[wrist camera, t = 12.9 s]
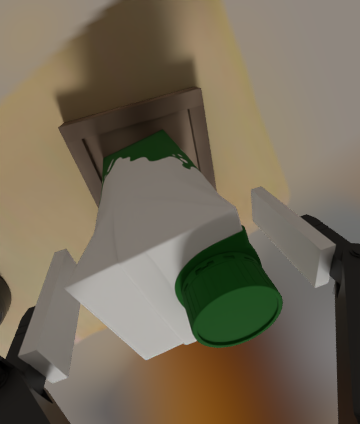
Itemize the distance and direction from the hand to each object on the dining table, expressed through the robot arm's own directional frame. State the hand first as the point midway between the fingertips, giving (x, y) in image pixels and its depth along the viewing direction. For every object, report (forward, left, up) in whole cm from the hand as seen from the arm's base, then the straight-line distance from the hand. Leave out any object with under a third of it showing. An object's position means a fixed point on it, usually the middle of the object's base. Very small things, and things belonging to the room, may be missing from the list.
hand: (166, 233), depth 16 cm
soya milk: (0, 0, -13) cm, 13 cm away
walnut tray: (0, 0, -14) cm, 14 cm away
